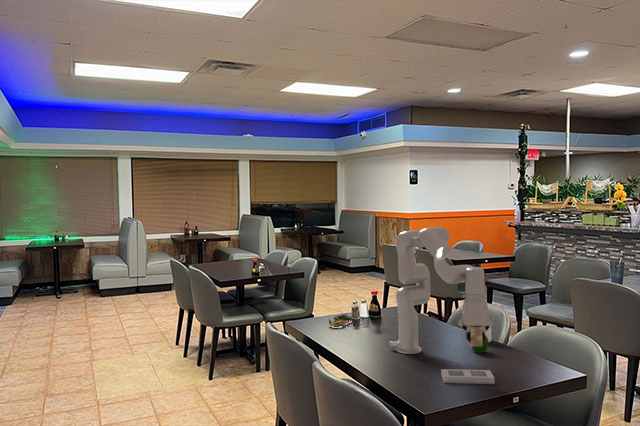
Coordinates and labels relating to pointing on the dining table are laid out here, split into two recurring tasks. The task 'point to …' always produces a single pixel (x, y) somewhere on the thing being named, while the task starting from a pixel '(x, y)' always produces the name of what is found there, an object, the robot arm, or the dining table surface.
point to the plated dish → (340, 320)
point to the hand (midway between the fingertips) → (475, 340)
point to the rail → (467, 376)
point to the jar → (488, 334)
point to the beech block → (476, 335)
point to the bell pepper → (481, 348)
